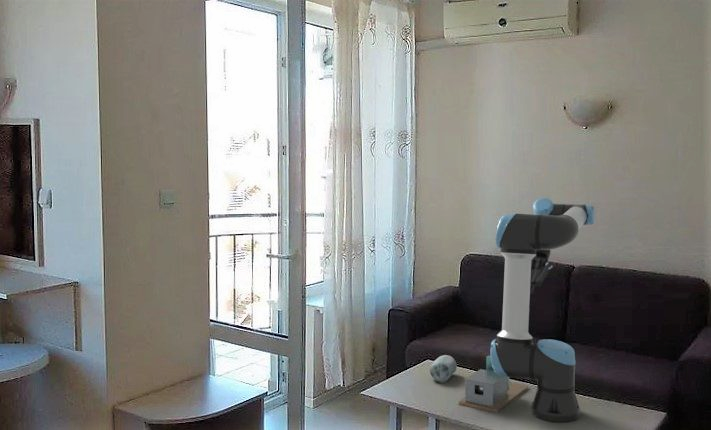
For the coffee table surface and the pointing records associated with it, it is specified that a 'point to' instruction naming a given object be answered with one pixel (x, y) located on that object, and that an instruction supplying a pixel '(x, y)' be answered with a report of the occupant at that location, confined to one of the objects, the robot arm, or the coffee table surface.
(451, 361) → the spool
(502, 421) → the coffee table surface
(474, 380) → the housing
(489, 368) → the block
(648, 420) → the coffee table surface
